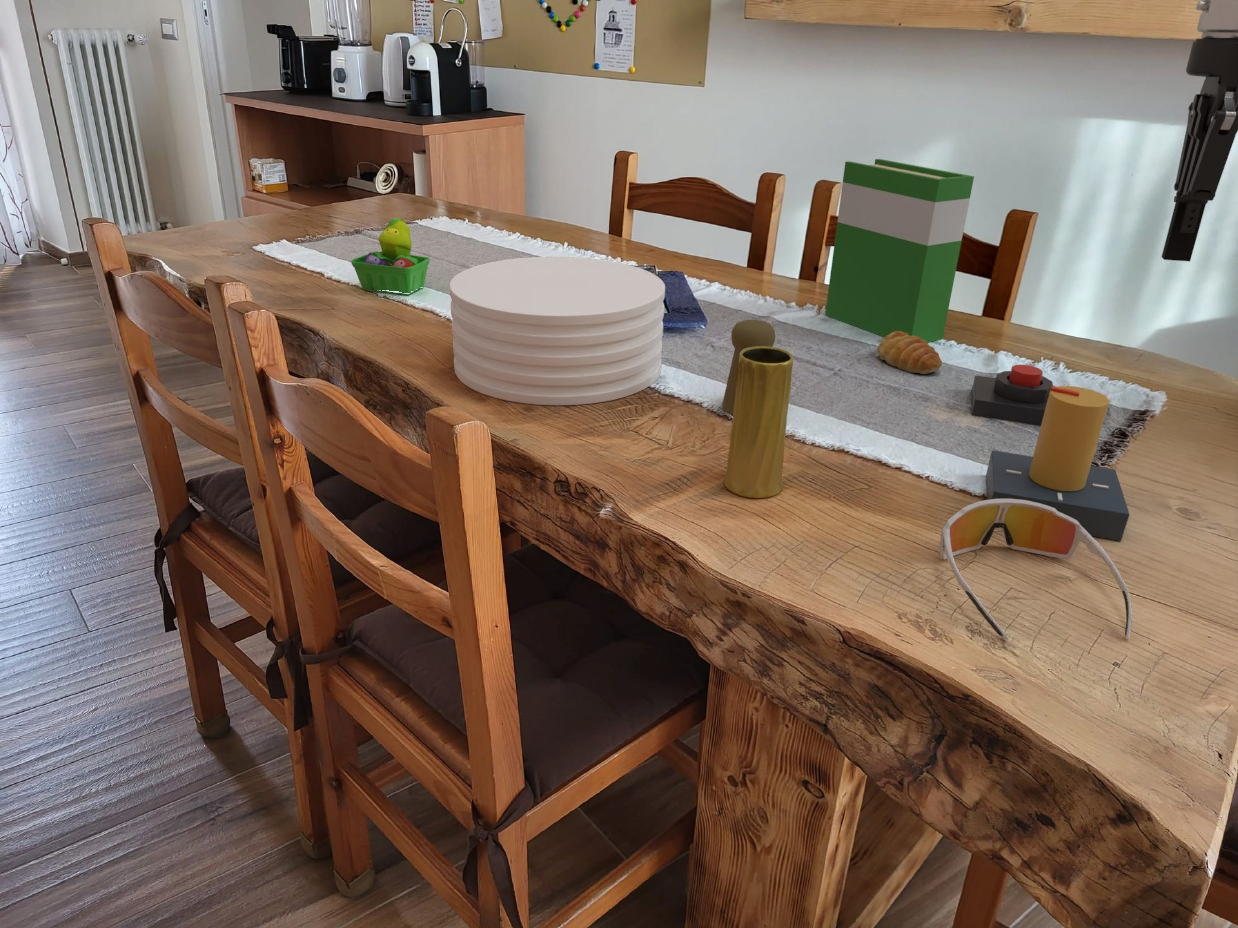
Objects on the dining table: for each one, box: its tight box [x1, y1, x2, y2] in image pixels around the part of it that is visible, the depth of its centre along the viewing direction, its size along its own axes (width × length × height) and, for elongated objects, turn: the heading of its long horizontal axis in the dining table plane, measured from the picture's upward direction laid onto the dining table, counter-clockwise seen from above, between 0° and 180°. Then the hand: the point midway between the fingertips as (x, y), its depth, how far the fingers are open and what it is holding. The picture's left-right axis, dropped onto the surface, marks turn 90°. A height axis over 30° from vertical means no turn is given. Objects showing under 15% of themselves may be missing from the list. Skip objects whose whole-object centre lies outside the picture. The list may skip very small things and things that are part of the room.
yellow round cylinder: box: [1029, 385, 1110, 492], centre depth 89 cm, size 5×5×9 cm
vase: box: [723, 346, 795, 499], centre depth 91 cm, size 6×6×14 cm
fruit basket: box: [350, 217, 431, 296], centre depth 153 cm, size 11×9×11 cm
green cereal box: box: [824, 158, 975, 344], centre depth 139 cm, size 18×7×24 cm, turn 33°
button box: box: [971, 370, 1057, 427], centre depth 114 cm, size 11×9×4 cm
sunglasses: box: [939, 499, 1133, 641], centre depth 78 cm, size 14×15×5 cm
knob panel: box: [985, 449, 1130, 542], centre depth 92 cm, size 12×10×3 cm
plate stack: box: [449, 256, 666, 406], centre depth 122 cm, size 28×28×12 cm
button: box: [1009, 364, 1044, 386], centre depth 113 cm, size 4×4×2 cm
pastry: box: [876, 331, 943, 375], centre depth 128 cm, size 9×7×4 cm
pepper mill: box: [721, 319, 776, 416], centre depth 111 cm, size 6×6×11 cm
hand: (1175, 259), depth 107 cm, fingers closed
